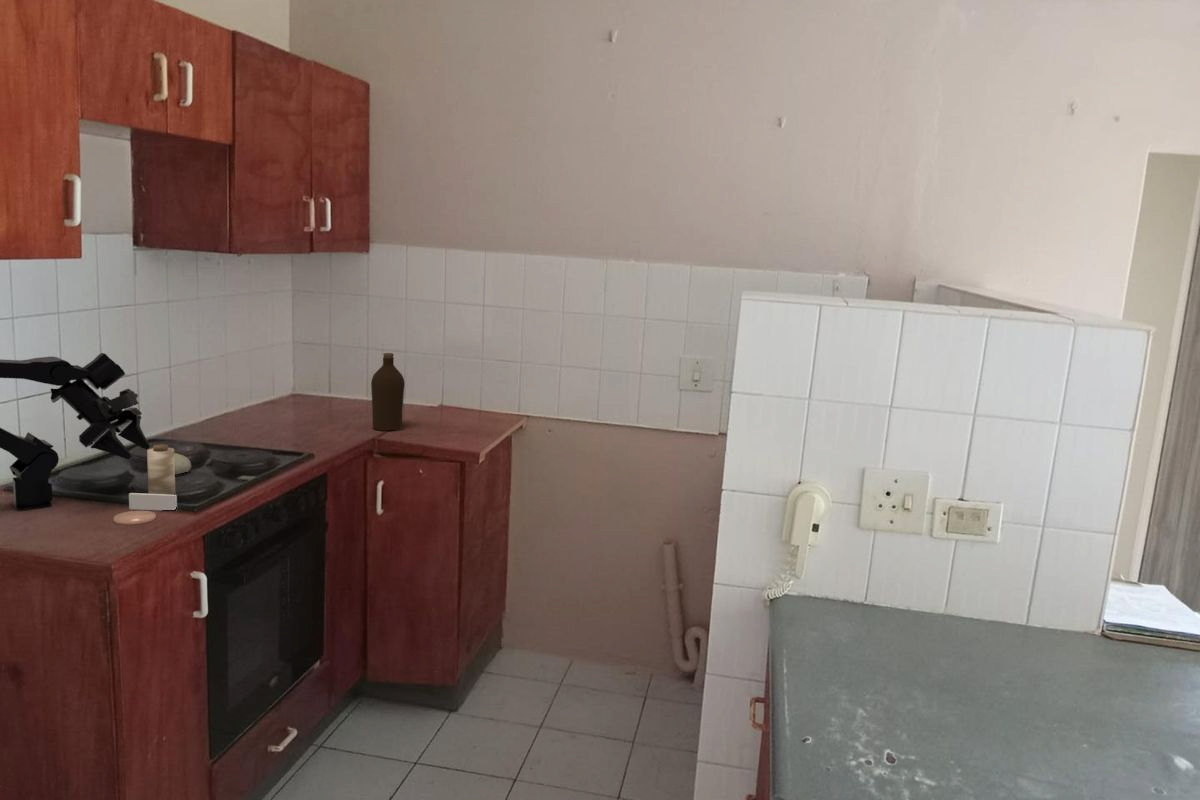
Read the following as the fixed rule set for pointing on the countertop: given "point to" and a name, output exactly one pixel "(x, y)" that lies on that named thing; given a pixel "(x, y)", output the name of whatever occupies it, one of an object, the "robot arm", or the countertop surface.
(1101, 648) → the countertop surface
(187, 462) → the sea urchin shell
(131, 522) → the coaster
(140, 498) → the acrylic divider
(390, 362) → the olive oil
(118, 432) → the robot arm
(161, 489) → the thread spool
